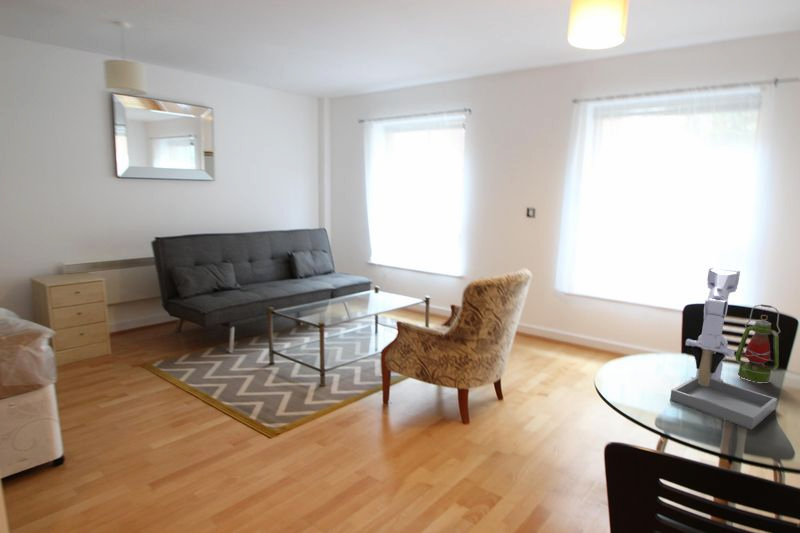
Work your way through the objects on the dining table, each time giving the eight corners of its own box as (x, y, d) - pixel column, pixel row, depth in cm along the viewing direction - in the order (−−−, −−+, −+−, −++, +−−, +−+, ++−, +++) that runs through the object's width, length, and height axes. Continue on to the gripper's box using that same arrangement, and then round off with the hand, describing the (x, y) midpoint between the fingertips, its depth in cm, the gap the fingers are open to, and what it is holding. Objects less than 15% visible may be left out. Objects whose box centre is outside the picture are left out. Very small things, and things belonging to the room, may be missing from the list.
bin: (697, 384, 181) (699, 374, 181) (775, 409, 163) (777, 398, 162) (669, 400, 167) (671, 389, 166) (751, 429, 148) (753, 417, 147)
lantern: (730, 377, 190) (743, 304, 185) (733, 369, 199) (745, 299, 193) (774, 387, 182) (788, 311, 176) (775, 379, 190) (789, 306, 184)
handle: (711, 389, 165) (717, 348, 162) (690, 383, 170) (696, 342, 167) (716, 386, 168) (722, 345, 165) (696, 380, 173) (701, 340, 170)
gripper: (684, 329, 169) (678, 365, 171) (731, 341, 157) (724, 379, 160) (692, 326, 173) (687, 361, 175) (739, 337, 162) (732, 375, 164)
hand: (705, 370), depth 168 cm, fingers closed on handle, 4 cm apart
